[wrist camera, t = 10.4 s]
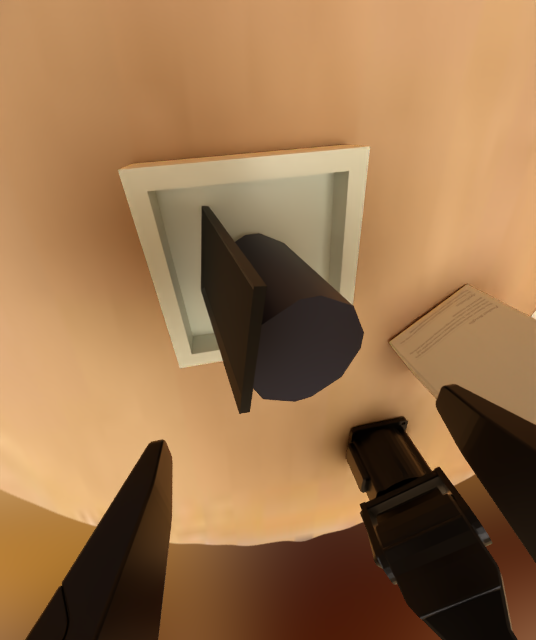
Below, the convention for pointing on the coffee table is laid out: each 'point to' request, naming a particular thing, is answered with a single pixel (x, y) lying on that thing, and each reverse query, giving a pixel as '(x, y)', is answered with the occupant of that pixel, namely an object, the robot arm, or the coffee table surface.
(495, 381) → the skincare box
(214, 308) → the speaker
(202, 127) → the coffee table surface
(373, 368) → the coffee table surface
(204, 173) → the tray
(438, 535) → the robot arm
